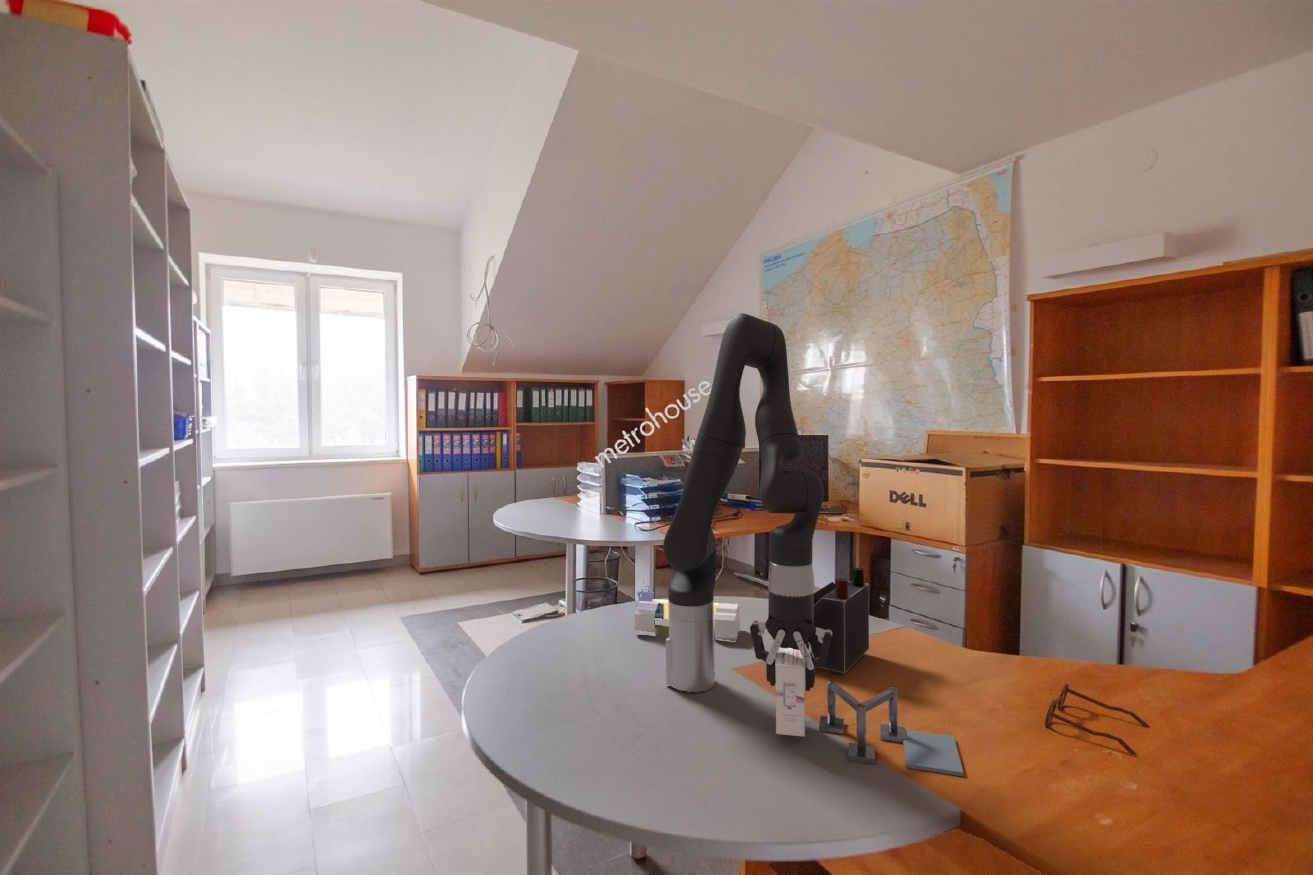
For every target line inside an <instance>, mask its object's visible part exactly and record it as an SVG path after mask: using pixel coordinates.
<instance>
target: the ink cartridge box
mask: <svg viewBox="0 0 1313 875" xmlns="http://www.w3.org/2000/svg"><path fill="white" fill-rule="evenodd" d="M802 653H803V657H802V655H801V653H800V650H794V649H792V648H781V647H779V650H778V652H777V654H776V657H775V672H776V683H775V734H776V735H783V736H784V735H785V736H793V737H795V736H796V737H805V736H806V691H805V669H806V664H805V659H804V647H803V644H802Z"/></svg>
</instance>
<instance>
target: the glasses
mask: <svg viewBox="0 0 1313 875" xmlns="http://www.w3.org/2000/svg"><path fill="white" fill-rule="evenodd" d="M1068 693H1069V694H1072V695H1074V696H1076V697H1079V698H1081V699H1083V700H1086V701H1088V702H1090V703H1093V704H1094V705H1097V706H1099V707H1102V708H1103V709H1107V710H1112V711H1116V712H1120V713H1123V714H1126V715H1129V716H1131V717H1132V718H1133V719H1135V720H1136V721H1137V722H1138V723H1139V724H1140V725H1141V726H1143V725H1144V726H1147V727H1146V728H1148V727H1151V726H1150V725H1149V724H1148V723H1147V722H1145V720H1143V719H1142V718H1141V717H1140V716H1139V715H1137V714H1136V713H1135V712H1133V711H1131V710H1129V709H1125V708H1123V707H1120V706H1114V705H1110V704H1107V703H1104V702H1102V701H1099V700H1097V699H1094V698H1092V697H1090V696H1088V695H1086V694H1083V693H1080V692H1078V691H1076V690H1073V689H1071V688H1069V684H1068V683H1065V684H1064V686H1063V687H1062V690H1061V691H1060V694H1059V695H1058V696H1057V698H1056V699H1055V698H1054V699H1052V700H1051V703H1050V704H1049V707H1048V710H1047V713H1046V717H1045V721H1044V726H1045V727H1047V728H1048V727H1049V726H1050V725H1051V723H1052V720H1053V718H1055V719H1057V720H1058V721H1061V722H1063V723H1065V724H1068V725H1069V726H1072V727H1075V728H1076V729H1078V730H1081V731H1083V732H1086V733H1088V734H1090V735H1091V736H1096V737H1104V738H1108V739H1110V740H1114V741H1117V742H1118V743H1119V744H1120V745H1121V746H1122V748H1124V749H1125V750H1126V752H1128V753H1129V754H1130V753H1131V754H1134V755H1138V754H1137V752H1135V751H1134V750H1133V748H1132V747H1130V746H1129V744H1128V743H1126V742H1125V740H1123V739H1122V738H1121V737H1118V736H1115V735H1114V734H1111V733H1107V732H1102V731H1096V730H1093V729H1090V728H1089V727H1086V726H1085V725H1081V724H1080V723H1077V722H1076V721H1073V720H1071V719H1069V718H1066V717H1064V716H1062V715H1060V714H1057V713H1056V709H1057V710H1061V709H1062V708H1063V706H1065V705H1064V704H1065V702H1066V699H1067V696H1068ZM1144 726H1143V727H1144ZM1131 754H1130V755H1131ZM1134 755H1133V756H1134Z"/></svg>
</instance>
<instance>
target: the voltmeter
mask: <svg viewBox="0 0 1313 875" xmlns="http://www.w3.org/2000/svg"><path fill="white" fill-rule="evenodd" d="M851 572H852V574H851V577H852V578H851V580H848V579H847V578H843V577H840V578H839V577H837V578H835V581H834V582H835V583H834V582H833V581H832V582H830V583H828V584H827V585H824V586H823V587H822V588H820V589H819V590H817V591H816V592H815V591H814V622H815V624H816V626H817V627H818V628H821V629H824V630H826V629H831V630H832V632H833V633H832V638H831V642H830V646H829V651H828V655H827V659H826V664H825V667H823V668H822V669H826V670H830V671H832V672H833V675H834V676H838V677H841V676H844V674H845V673H847V672H848V671H849V670H850V669H851V668H852V667H853V666H854V664H856V663H857V661H859V659H860V658H861V657H863V655H864V654H865V653H866V652H867V651H868V650H869V649H870V632H869V631H870V628H869V627H870V623H869V621H870V616H869V615H870V613H869V610H870V609H869V606H870V605H869V601H870V600H869V595H870V594H869V583H866V582H865V577H864V576H865V575H864V574H865V573H864V568H861V567H853V568H852V571H851ZM809 644H810V646H811V650H812V653H813V656H814V658H816V657H819V656H820V651H821V647H822V643H820V642H819V641H818V636H817V635H816V634H815V635H814V636H813V637H812V638H811V640H810V641H809Z"/></svg>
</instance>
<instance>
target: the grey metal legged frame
mask: <svg viewBox="0 0 1313 875" xmlns="http://www.w3.org/2000/svg"><path fill="white" fill-rule="evenodd" d="M826 690H827V691H826V694H827V695H826V699H827V703H826V705H827V706H826V707H827V713H826V714H827V715H820V716H819V724H818V731H819V732H822V733H823V732H825V733H831V734H839V735H844V730H845V729H844V727H845V718H840V717H837V712H836V710H837V705H836V703H837V702H836V701H837V698H836V697H837V696H838V697H839V698H840V699H841V700H843V701H844V702H845V703H846V704H847V705H848V706H850V707H851V708H852V709H853V710H854V711H855V712H856V742H848V744H847V745H848V746H847V748H848V749H847V761H850V762H851V761H852V762H857V763H864V764H869V765H876V764H875V763H876V759H875V757H876V756H875V753H876V750H875V749H876V748H875V745H869V744H867V714H866V713H868V712H869V711H871V710H872V709H875V708H877V707H878V706H880V705H882V704H884V703H885V702H887V701H888V724H884V723H880V727H879V729H880V731H879V732H880V741H887V742H894V743H902V744H903V739H904V740H906V730H907V729H906V727H905V726H899V725H898V689H897V687H893V686H890V687H888V689H886V690H884V691H882V692H880V693H878V694H876V695H874V696H872V697H871V698H869V699H867V700H865V701H863V702H860V701H859V700H858V699H856V697H854V696H853V695H852V694H850V693H849V692H848V691H846V690H845V689H844V688H843V687H842V686H840V685H839V684H838V683H837V682H836V681H835V680H834V679H827V682H826ZM836 695H837V696H836Z"/></svg>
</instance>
